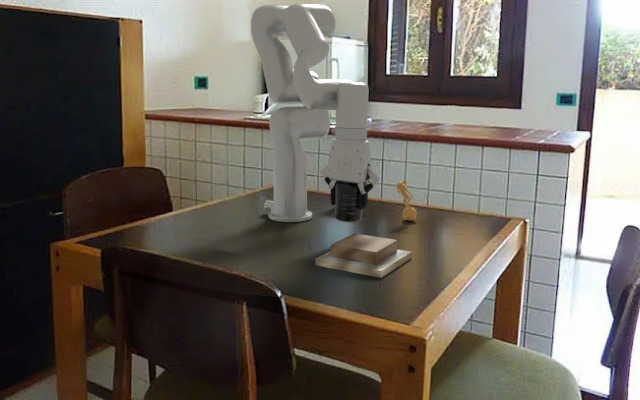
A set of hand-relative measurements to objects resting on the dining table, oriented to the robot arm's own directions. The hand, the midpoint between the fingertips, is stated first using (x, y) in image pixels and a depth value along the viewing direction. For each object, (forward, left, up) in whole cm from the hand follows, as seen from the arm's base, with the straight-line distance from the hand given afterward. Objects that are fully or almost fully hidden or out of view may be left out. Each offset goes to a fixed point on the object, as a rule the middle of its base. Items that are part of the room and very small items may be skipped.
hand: (348, 205), depth 155 cm
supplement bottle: (0, 0, -4) cm, 4 cm away
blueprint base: (+11, -12, -9) cm, 19 cm away
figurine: (+4, +28, -9) cm, 29 cm away
